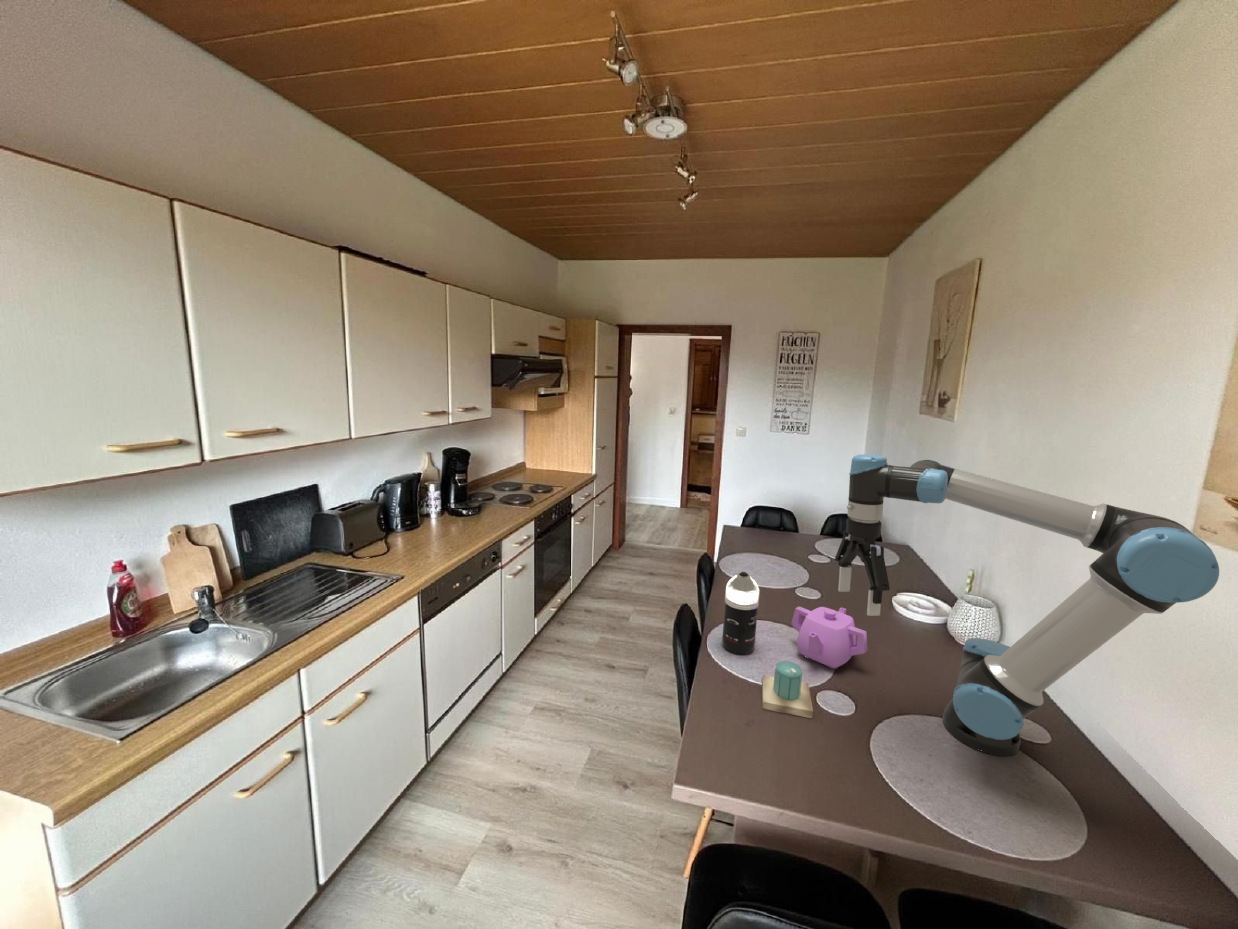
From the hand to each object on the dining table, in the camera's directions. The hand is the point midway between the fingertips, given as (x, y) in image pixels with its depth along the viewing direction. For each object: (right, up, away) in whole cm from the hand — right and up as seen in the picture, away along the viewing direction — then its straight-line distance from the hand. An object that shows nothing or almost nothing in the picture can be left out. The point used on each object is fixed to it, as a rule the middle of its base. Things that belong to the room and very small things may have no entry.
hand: (857, 602), depth 120 cm
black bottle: (-22, -24, +33) cm, 46 cm away
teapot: (+4, -25, +29) cm, 39 cm away
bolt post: (-15, -28, +9) cm, 33 cm away
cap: (-15, -26, +8) cm, 31 cm away
